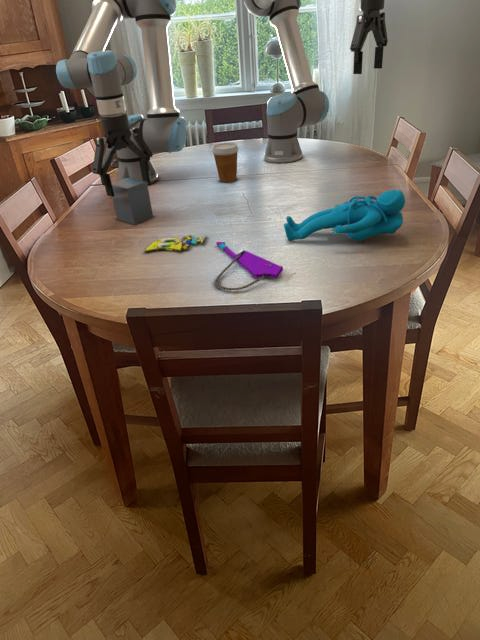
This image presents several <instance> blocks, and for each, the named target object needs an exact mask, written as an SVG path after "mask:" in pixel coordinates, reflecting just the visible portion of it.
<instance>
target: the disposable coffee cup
mask: <svg viewBox="0 0 480 640" xmlns="http://www.w3.org/2000/svg"><path fill="white" fill-rule="evenodd" d="M211 152H212V154H213V157H214V163H215V166H216V170H217V176H218V180H219V182H222V183H231V182H234V181H237V178H238V177H237V175H238V152H239V147H238V144H237V143H235V142H224V143H217V144H215V145H213V146H212V150H211Z"/></svg>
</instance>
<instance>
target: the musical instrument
mask: <svg viewBox="0 0 480 640" xmlns="http://www.w3.org/2000/svg"><path fill="white" fill-rule="evenodd" d="M216 246H218V247H219V249H220V250H221V251H223V252H225V254H227V255H228V256H229V257H231V259H233V260H232V261H231V262H230V263H229V264H227V266H225V268H224V269H223V270H222V271H221V272H220V273H219V274H218V275H217V276H216V278H215V280H214V284H215V287H216V288H217V289H222V290H225V291H239V290H243V289H246V288H249V287H251V286H253V285H255V284H256V283H258V282H260V281H261V280H262V279H264V278H272V279H278V278H279V277H280V275H281V274H282V273H283V271H284V266H282V265H280V264H277V263H275V262H273V261H270V260H268V259H265V258H263V257H261V256H259V255H257V254H254V253H252V252H250V251H248V250H244V249H243V250H242V251H240V252H238V253H235V252H234V251H232V250H231V249H230V248H229V247H228V246H227V245H226V242H225V241H216ZM234 263H237V264H239V265H240V266H241V267H242V268H244V269H245V270H246V271H247V272H248V273H249V274H251V275H252V276H253V277H255V280H254V281H251V282H250V283H248V284H246V285H243V286H240V287H226V286H221V285H220V284H219V280H220V278H221V277H222V276H223V275H224V273H226V272H227V270H228V269H229V268H230V267H231V266H233V264H234Z"/></svg>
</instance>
